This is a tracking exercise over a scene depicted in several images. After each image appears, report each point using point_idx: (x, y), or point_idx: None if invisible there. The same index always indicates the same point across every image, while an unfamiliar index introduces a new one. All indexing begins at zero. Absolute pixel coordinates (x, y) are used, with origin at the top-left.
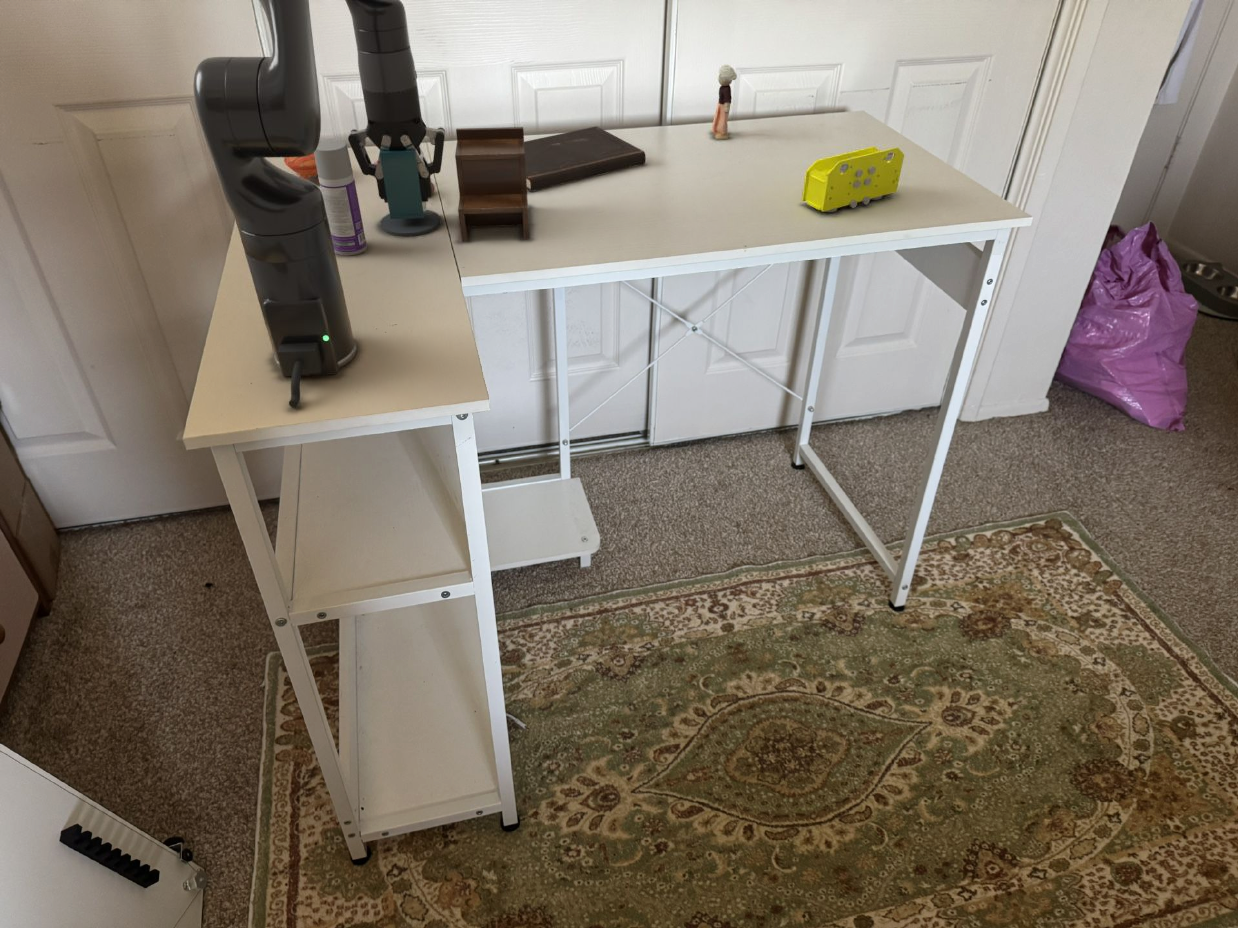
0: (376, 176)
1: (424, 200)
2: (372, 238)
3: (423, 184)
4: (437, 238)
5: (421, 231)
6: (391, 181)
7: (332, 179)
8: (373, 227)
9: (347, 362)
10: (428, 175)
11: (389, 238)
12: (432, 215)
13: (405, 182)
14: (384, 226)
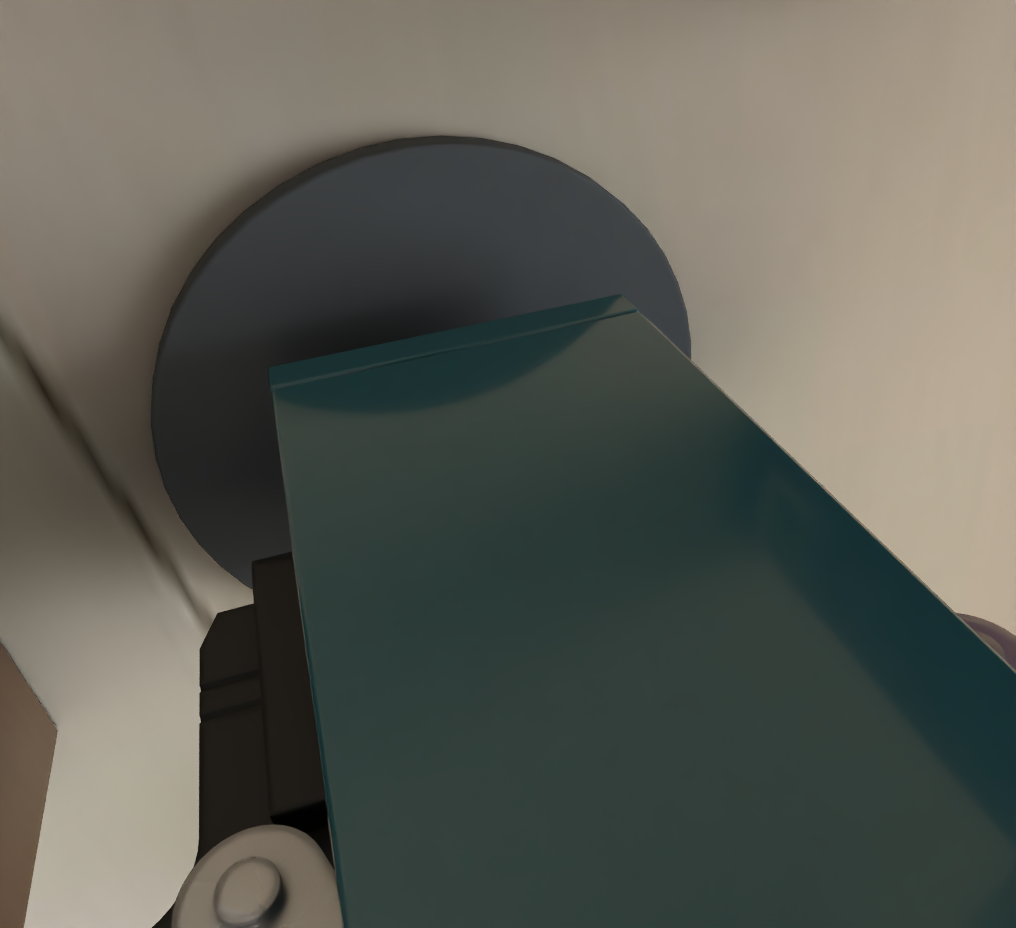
0: (996, 636)
1: (287, 556)
2: (739, 69)
3: (290, 728)
4: (34, 109)
5: (265, 205)
6: (785, 578)
7: None
8: (735, 304)
9: None
10: (183, 894)
11: (582, 78)
12: (275, 550)
13: (553, 625)
14: (655, 279)
